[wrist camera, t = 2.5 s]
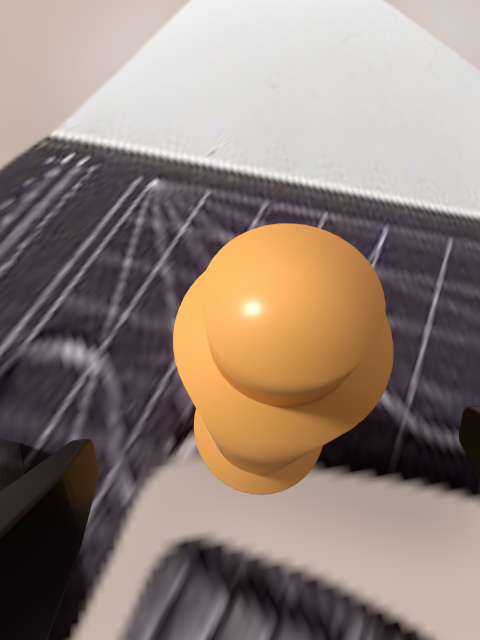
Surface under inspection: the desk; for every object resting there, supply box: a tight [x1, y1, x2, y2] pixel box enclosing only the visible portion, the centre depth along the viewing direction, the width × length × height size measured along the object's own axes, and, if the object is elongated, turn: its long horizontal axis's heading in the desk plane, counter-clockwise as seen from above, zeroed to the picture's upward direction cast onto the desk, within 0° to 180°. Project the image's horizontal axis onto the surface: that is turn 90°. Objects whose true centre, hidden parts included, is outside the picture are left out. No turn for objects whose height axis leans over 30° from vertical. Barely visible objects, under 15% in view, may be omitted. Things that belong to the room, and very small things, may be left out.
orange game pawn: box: [173, 224, 393, 495], centre depth 11 cm, size 6×6×13 cm
